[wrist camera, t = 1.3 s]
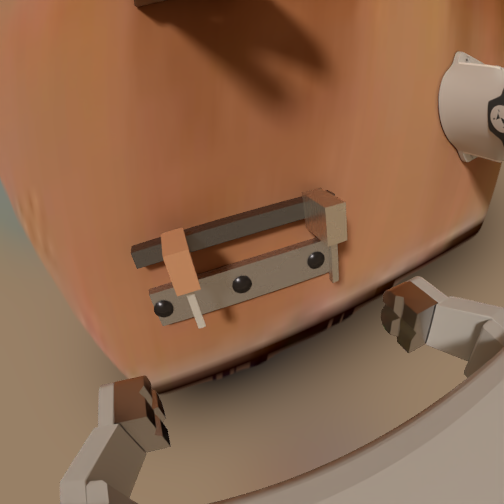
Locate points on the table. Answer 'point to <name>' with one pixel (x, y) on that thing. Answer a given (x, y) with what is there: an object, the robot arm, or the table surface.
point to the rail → (265, 227)
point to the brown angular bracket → (145, 2)
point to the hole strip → (244, 280)
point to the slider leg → (181, 269)
